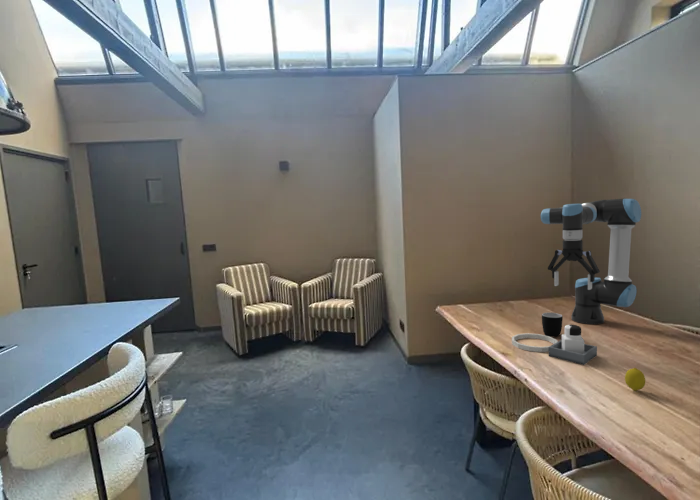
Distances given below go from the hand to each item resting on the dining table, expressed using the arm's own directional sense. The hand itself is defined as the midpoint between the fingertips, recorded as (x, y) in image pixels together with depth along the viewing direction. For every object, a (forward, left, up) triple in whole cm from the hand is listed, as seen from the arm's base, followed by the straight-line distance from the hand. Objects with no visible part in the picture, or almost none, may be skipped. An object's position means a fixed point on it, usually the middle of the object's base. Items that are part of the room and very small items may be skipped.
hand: (572, 287), depth 171 cm
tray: (+12, +5, -27) cm, 30 cm away
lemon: (+30, +31, -27) cm, 51 cm away
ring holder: (+9, -13, -27) cm, 31 cm away
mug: (-10, -14, -27) cm, 32 cm away
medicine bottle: (+12, +5, -26) cm, 29 cm away
